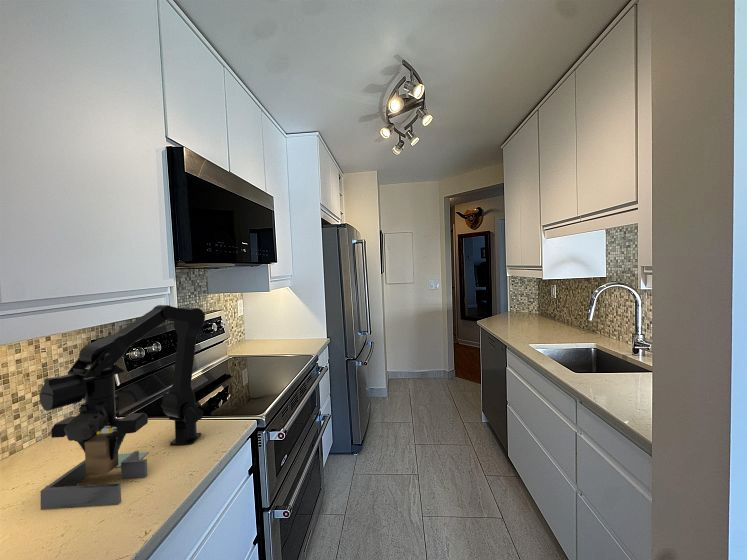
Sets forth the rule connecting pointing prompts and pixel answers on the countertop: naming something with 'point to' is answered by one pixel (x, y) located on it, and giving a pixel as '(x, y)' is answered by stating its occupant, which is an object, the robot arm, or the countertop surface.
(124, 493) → the countertop surface
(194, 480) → the countertop surface
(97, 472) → the walnut block
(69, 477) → the bent rails
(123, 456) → the mat
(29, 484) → the countertop surface
